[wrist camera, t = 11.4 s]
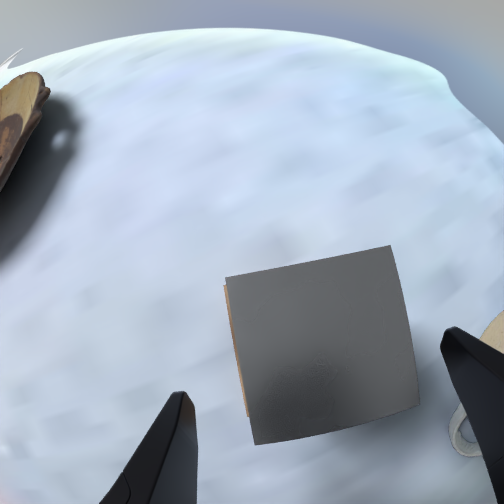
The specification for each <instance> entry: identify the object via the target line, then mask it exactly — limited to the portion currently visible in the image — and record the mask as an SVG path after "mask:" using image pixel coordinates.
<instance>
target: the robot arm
mask: <svg viewBox="0 0 504 504" xmlns="http://www.w3.org/2000/svg"><path fill="white" fill-rule="evenodd" d="M440 349H441V353H442V355H443V358H444V361H445V363H446V366H447V369H448V372H449V375H450V377H451V380H452V383H453V385H454V388H455V390H456V392H457V394H458V396H459V399H460V401H461V403H462V405H463V408H464V410H465V412H466V415H467V417H468V419H469V422H470V424H471V426H472V429H473V431H474V434H475V436H476V439H477V442H478V444H479V447H480V450H481V452H482V455H483V458H484V461H485V464H486V467H487V469H488V473H489V476H490V479H491V482H492V486H493V489H494V492H495V496H496V499H497V503H498V504H504V354H503V353H501V352H500V351H498V350H496V349H495V348H493V347H491V346H489V345H488V344H486V343H484V342H483V341H481V340H479V339H477V338H476V337H474V336H472V335H470V334H469V333H467V332H465V331H463V330H462V329H460V328H458V327H455V326H454V327H451V328H448V329H446V330H445V332H444V335H443V338H442V341H441V344H440ZM197 467H198V441H197V430H196V417H195V407H194V404H193V402H192V401H191V399H190V398H189V396H188V395H187V393H186V392H185V391H178V392H173V393H172V394H171V396H170V397H169V399H168V400H167V402H166V404H165V405H164V407H163V408H162V410H161V412H160V413H159V415H158V416H157V418H156V419H155V421H154V423H153V424H152V426H151V427H150V429H149V430H148V432H147V434H146V435H145V437H144V438H143V440H142V441H141V443H140V445H139V446H138V448H137V449H136V451H135V452H134V454H133V456H132V457H131V459H130V460H129V462H128V463H127V465H126V466H125V468H124V470H123V472H122V473H121V474H120V476H119V477H118V479H117V480H116V482H115V483H114V485H113V486H112V488H111V489H110V490H109V492H108V493H107V494H106V495H105V497H104V498H103V499H102V500H101V502H100V503H99V504H197Z"/></svg>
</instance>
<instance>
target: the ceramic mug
mask: <svg viewBox="0 0 504 504" xmlns="http://www.w3.org/2000/svg"><path fill="white" fill-rule="evenodd" d="M479 340H481V341H483V342H484V343H486V344H488V345H489V346H491V347H493V348H495V349H496V350H498V351H500V352H501V353H503V354H504V311H502V312H501V313H500V314H499V315H498V316H497V317H496V318H495V319H494V320H493V321H492V322H491V323H490V325H489V326H488V327H487V328H486V330H485V331H484V333H483V334H482V336H481V338H480V339H479ZM466 416H467V415H466V412H465V410H464V408H463V405H462V403H460V404H459V406H458V408H457V409H456V411H455V412H454V414H453V415H452V417H451V420H450V423H449V436H450V439H451V443H452V445H453V447H454V449H455V450H456V451H457V452H458V453H460V454H461V455H464V456H467V457H475V456H480V455H482V452H481V450H480V447H479V444H478V442H476V443H468V442H467V441H466V440H465V439H464V438H462V437H461V432H460V431H458V429H459V427H460V425H461V423H462V421H463V420H464V419H465V417H466Z"/></svg>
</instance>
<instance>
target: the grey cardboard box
mask: <svg viewBox="0 0 504 504" xmlns="http://www.w3.org/2000/svg"><path fill="white" fill-rule="evenodd" d="M225 279H226V286H227V292H228V299H229V305H230V311H231V317H232V323H233V329H234V335H235V341H236V347H237V353H238V358H239V364H240V370H241V375H242V381H243V386H244V392H245V397H246V402H247V408H248V413H249V418H250V423H251V428H252V433H253V438H254V443H255V445H262V444H269V443H276V442H283V441H289V440H295V439H300V438H305V437H310V436H315V435H320V434H325V433H329V432H333V431H337V430H341V429H345V428H349V427H353V426H357V425H360V424H364V423H367V422H371V421H374V420H377V419H380V418H383V417H386V416H390V415H393V414H395V413H398V412H401V411H404V410H407V409H409V408H412V407H415V406H417V405H420V399H419V389H418V380H417V372H416V364H415V357H414V351H413V344H412V338H411V333H410V327H409V322H408V316H407V311H406V307H405V302H404V297H403V293H402V288H401V284H400V280H399V276H398V272H397V268H396V264H395V260H394V256H393V252H392V249H391V245H389V246H384V247H379V248H374V249H369V250H365V251H360V252H355V253H350V254H345V255H340V256H335V257H330V258H325V259H320V260H315V261H310V262H305V263H300V264H295V265H290V266H284V267H279V268H274V269H269V270H263V271H258V272H253V273H247V274H242V275H237V276H231V277H226V278H225Z"/></svg>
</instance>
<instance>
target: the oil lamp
mask: <svg viewBox="0 0 504 504" xmlns="http://www.w3.org/2000/svg"><path fill="white" fill-rule="evenodd" d="M50 92H51V91H50V88H48V87H45V82H44V79H43V77H42V76H41V75H40V74H39V73H38V72H27V73H25V74H22V75H19V76H17V77H16V78H14V79H13V80H11V81H10V83H9V84H8V85H5V86H4V87H3V88H2V89H0V160H1V161H0V191H1V190H2V188H3V186H4V185H5V183H6V181H7V179H8V177H9V176H10V174H11V172H12V170H13V168H14V166H15V164H16V162H17V160H18V158H19V156H20V154H21V152H22V150H23V148H24V146H25V145H26V143H27V141H28V139H29V137H30V135H31V134H32V132H33V131H34V129H35V128H36V126H37V125H38V123H39V122H40V120H41V118H42V113H41V109H42V107H43V105H44V103H45V101H46V100H47V98H48V97H49V95H50ZM1 158H2V159H1Z"/></svg>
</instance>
